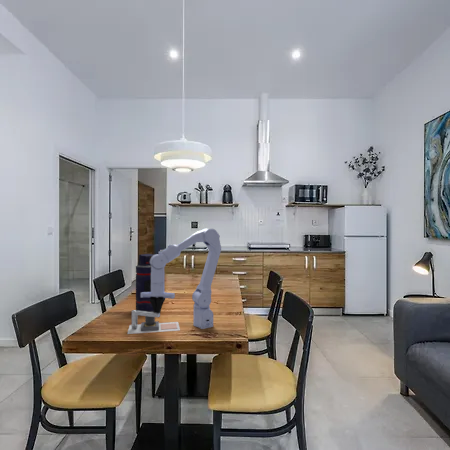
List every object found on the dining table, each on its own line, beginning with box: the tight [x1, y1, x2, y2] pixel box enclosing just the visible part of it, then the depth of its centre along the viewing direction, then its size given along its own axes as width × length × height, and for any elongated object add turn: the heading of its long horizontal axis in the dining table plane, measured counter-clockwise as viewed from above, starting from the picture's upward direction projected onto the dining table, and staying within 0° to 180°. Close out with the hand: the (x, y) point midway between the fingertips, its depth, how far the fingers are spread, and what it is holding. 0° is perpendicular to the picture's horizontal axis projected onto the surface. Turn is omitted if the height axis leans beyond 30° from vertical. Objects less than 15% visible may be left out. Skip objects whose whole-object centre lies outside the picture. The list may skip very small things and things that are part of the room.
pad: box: [161, 323, 177, 330], centre depth 139 cm, size 7×7×1 cm
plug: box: [144, 316, 156, 326], centre depth 138 cm, size 4×4×6 cm
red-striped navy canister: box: [135, 253, 155, 312], centre depth 168 cm, size 14×12×30 cm
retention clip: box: [131, 309, 161, 329], centre depth 135 cm, size 13×2×8 cm, turn 71°
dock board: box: [127, 320, 181, 335], centre depth 138 cm, size 22×12×2 cm, turn 103°
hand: (157, 314), depth 135 cm, fingers closed
